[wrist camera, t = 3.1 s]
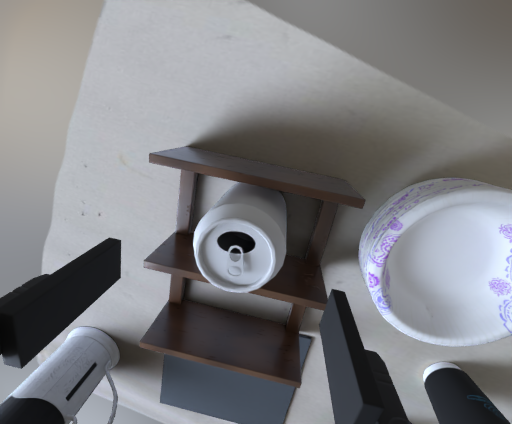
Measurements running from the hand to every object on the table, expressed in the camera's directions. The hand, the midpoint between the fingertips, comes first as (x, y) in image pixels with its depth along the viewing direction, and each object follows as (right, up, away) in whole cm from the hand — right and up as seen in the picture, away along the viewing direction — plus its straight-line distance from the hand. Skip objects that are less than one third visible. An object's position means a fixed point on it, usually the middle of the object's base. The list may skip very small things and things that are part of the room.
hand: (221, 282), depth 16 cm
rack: (+1, 0, +16) cm, 16 cm away
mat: (-2, -20, +23) cm, 30 cm away
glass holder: (-21, -17, +25) cm, 37 cm away
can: (+2, +5, +15) cm, 15 cm away
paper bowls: (+21, +1, +13) cm, 25 cm away
